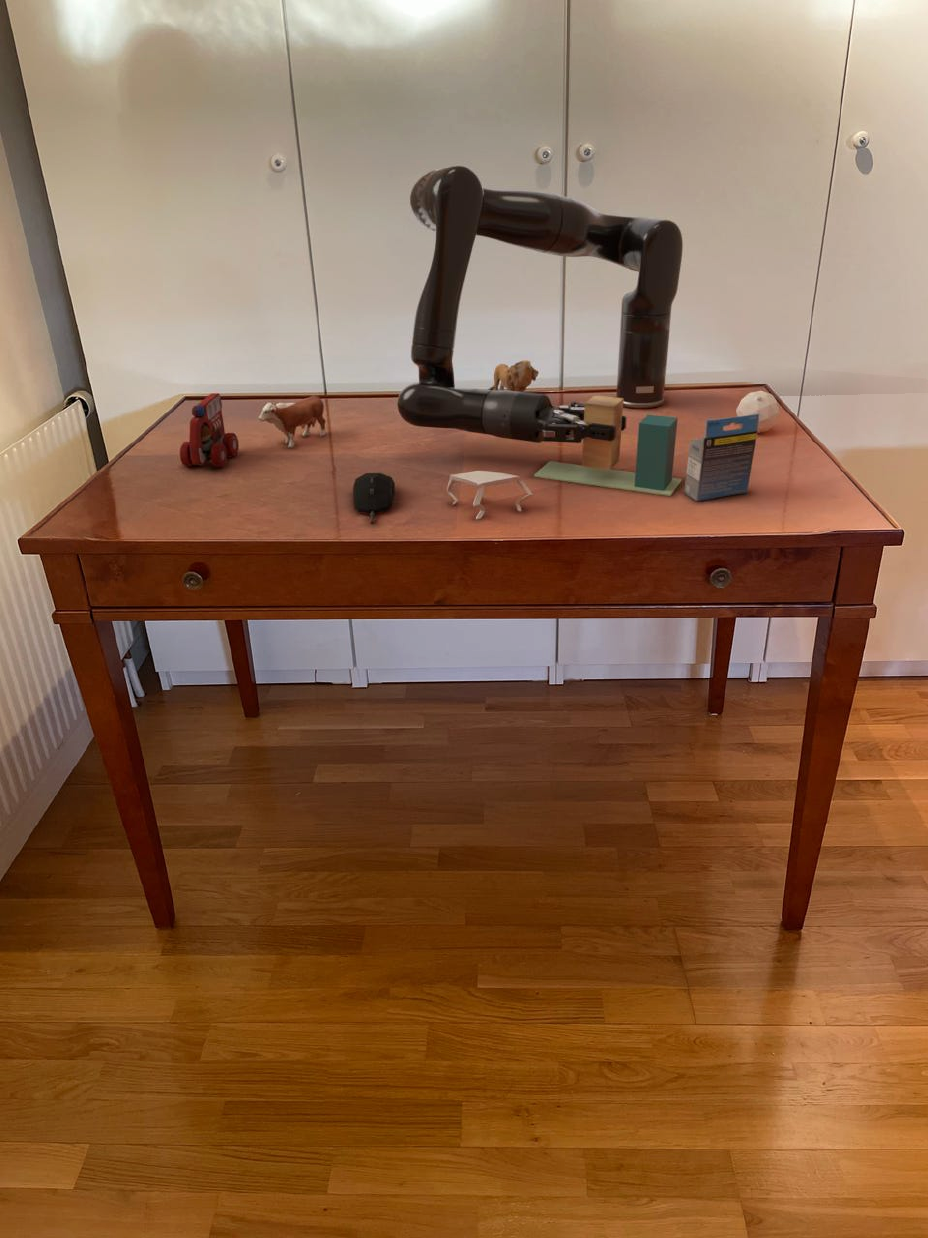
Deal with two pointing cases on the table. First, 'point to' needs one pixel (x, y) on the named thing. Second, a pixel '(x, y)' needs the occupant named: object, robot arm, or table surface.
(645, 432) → the teal block
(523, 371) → the lion figurine
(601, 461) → the birch block
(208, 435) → the toy fire truck
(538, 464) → the table surface
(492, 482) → the beige toy table
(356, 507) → the gaming mouse
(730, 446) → the label tape box
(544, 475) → the sage strip
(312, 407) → the bull figurine
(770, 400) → the ornament
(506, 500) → the table surface
